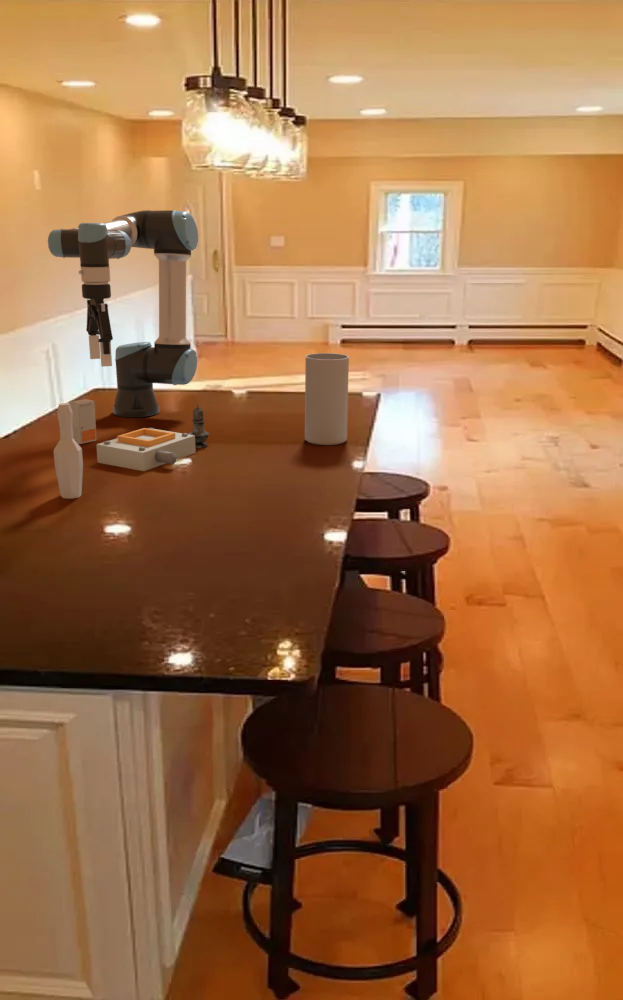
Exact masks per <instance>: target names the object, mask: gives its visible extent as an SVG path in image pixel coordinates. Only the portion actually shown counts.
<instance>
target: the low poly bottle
mask: <svg viewBox="0 0 623 1000" xmlns="http://www.w3.org/2000/svg"><path fill="white" fill-rule="evenodd" d="M56 415H57V419H58V426H59V438H60V439H59V441H58V442H57V444H56V445H55V447H54V449H53V458H54V470H55V473H56V474H55V476H56V479H57V483H58V488H59V493H60V497H61V498H63V499H76V498H77V499H78V498H80V497H81V496H82V489H83V475H84V473H83V472H84V462H83V460H84V459H83V449H82V447H81V446H80V444H78V443H77V442H76V441H75V440H74V439H73V427H72V420H73V412H72V409H71V406H70V404H69V402H61V403H58V407H57V411H56Z"/></svg>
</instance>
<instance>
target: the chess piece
mask: <svg viewBox="0 0 623 1000" xmlns="http://www.w3.org/2000/svg"><path fill="white" fill-rule="evenodd" d="M192 418H193V419H192V420H191V422H192V426H193V427H192V431H190V432H189V433H188V434H189V435H195V449H204V448H207V447H209V444H207V443H206V441H207V440H208V437H209V435H210V433H209V432H208V431H206V430H205V422H206V420H205V419H204V410H203V408H201V407H200V405H199V404H197V405H196V408H194V409H193V411H192ZM203 447H204V448H203Z"/></svg>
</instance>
